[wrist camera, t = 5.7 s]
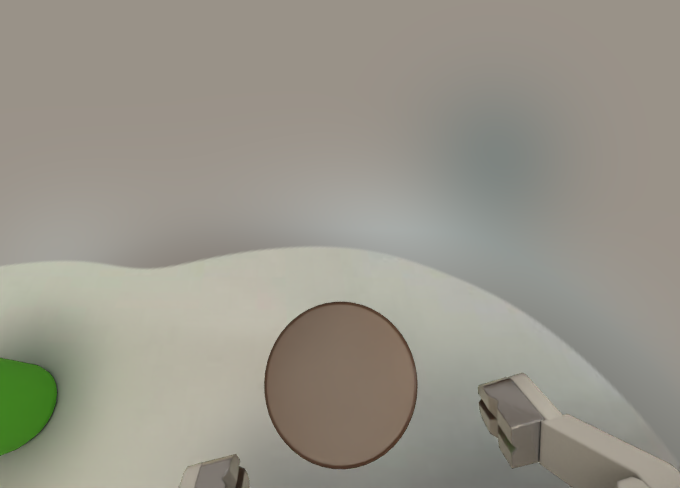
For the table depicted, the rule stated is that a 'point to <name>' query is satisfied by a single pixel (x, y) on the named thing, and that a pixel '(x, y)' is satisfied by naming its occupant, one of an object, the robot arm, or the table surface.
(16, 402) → the cup
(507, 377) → the robot arm
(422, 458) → the table surface
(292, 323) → the muddler
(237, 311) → the table surface
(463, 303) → the table surface
